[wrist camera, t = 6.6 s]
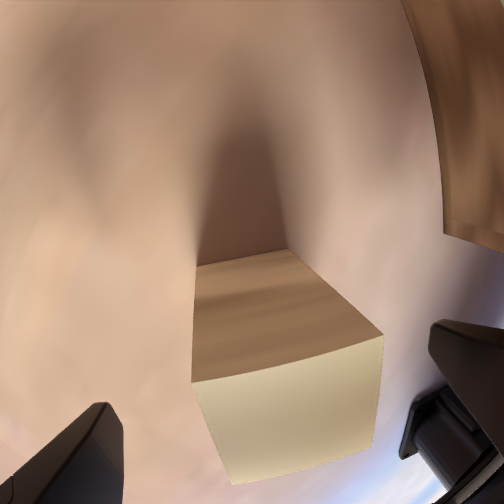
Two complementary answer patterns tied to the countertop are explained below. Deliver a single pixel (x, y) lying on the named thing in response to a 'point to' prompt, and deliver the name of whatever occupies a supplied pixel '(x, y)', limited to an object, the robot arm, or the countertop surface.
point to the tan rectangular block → (281, 366)
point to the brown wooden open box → (466, 110)
